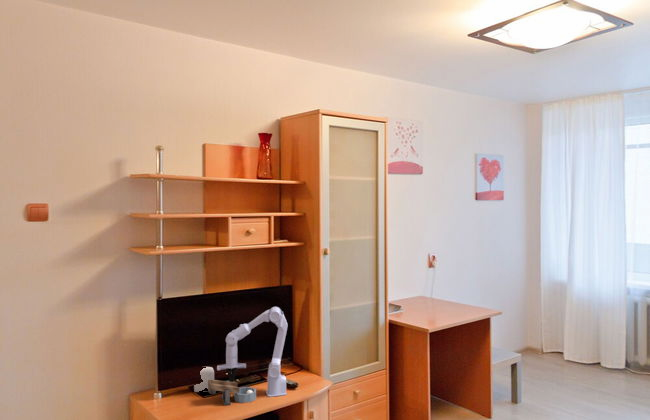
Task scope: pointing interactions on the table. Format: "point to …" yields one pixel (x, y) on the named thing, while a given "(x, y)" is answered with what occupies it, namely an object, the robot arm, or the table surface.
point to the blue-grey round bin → (245, 395)
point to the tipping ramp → (222, 386)
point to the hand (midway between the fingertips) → (231, 382)
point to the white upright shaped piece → (204, 378)
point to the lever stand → (226, 397)
